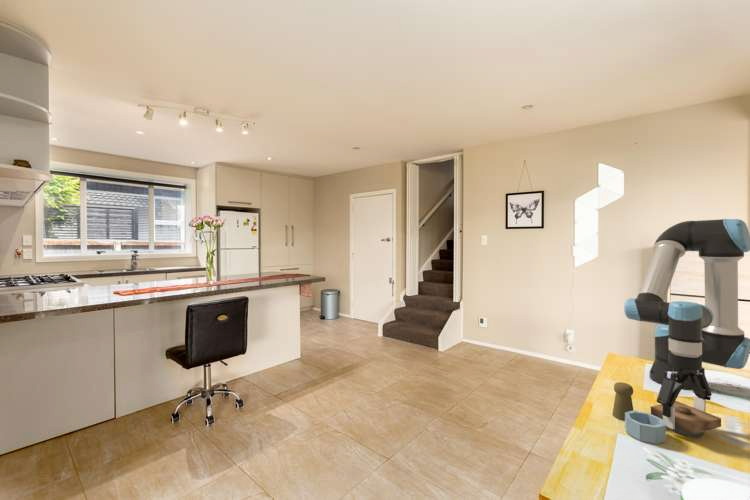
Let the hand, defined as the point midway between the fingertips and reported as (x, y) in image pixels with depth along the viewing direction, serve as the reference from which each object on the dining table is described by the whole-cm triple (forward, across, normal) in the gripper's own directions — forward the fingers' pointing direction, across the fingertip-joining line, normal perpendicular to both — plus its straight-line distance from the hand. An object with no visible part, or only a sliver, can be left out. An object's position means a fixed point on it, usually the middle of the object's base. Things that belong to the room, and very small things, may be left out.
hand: (684, 423), depth 103 cm
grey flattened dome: (+2, 0, 0) cm, 2 cm away
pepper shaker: (+2, +9, -12) cm, 15 cm away
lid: (-1, 0, 0) cm, 1 cm away
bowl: (+2, +14, -2) cm, 14 cm away
